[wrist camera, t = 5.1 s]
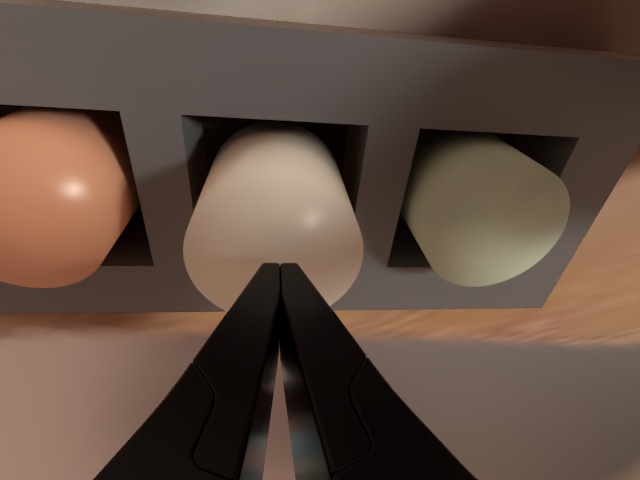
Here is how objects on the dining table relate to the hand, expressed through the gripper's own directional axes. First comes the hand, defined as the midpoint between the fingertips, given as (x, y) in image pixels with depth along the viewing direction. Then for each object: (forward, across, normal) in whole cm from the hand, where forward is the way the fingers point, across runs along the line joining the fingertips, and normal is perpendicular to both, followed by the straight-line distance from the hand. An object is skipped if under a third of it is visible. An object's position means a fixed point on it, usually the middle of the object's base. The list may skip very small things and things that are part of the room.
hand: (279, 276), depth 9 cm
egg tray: (+7, 0, 0) cm, 7 cm away
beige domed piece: (+5, 0, 0) cm, 5 cm away
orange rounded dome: (+7, +7, 0) cm, 10 cm away
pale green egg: (+6, -7, 0) cm, 9 cm away
